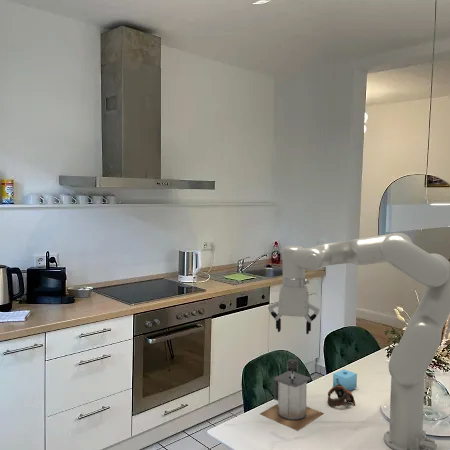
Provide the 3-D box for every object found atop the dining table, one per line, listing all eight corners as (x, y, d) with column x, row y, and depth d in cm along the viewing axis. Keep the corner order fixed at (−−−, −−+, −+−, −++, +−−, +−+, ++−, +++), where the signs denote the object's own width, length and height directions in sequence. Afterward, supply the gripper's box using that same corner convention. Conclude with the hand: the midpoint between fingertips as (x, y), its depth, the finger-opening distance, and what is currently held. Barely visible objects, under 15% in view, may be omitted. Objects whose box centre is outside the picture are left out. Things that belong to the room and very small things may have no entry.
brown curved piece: (360, 413, 159) (351, 396, 157) (335, 423, 161) (326, 406, 159) (352, 390, 170) (344, 374, 168) (329, 399, 172) (320, 383, 170)
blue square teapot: (341, 397, 171) (341, 378, 170) (327, 391, 176) (328, 373, 175) (358, 388, 179) (359, 370, 178) (345, 383, 183) (345, 365, 183)
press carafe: (311, 413, 156) (312, 377, 155) (295, 423, 148) (295, 386, 148) (283, 402, 164) (283, 368, 163) (266, 411, 157) (266, 375, 156)
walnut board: (324, 416, 156) (324, 413, 156) (297, 434, 144) (297, 430, 144) (286, 401, 167) (286, 398, 167) (259, 417, 155) (259, 413, 155)
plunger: (305, 406, 155) (306, 360, 154) (294, 413, 151) (294, 366, 149) (289, 400, 160) (290, 356, 159) (278, 406, 155) (278, 361, 154)
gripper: (320, 281, 154) (319, 330, 155) (269, 279, 158) (269, 327, 159) (319, 285, 147) (318, 337, 148) (266, 283, 151) (266, 333, 152)
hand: (293, 331), depth 153 cm, fingers open, 9 cm apart
